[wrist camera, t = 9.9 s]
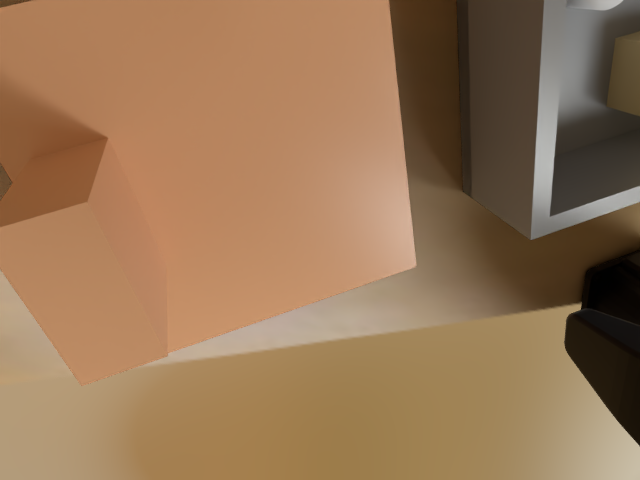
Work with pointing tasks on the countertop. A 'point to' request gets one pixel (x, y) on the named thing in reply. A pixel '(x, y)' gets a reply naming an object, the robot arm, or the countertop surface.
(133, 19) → the lid
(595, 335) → the robot arm
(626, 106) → the tub
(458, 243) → the countertop surface
